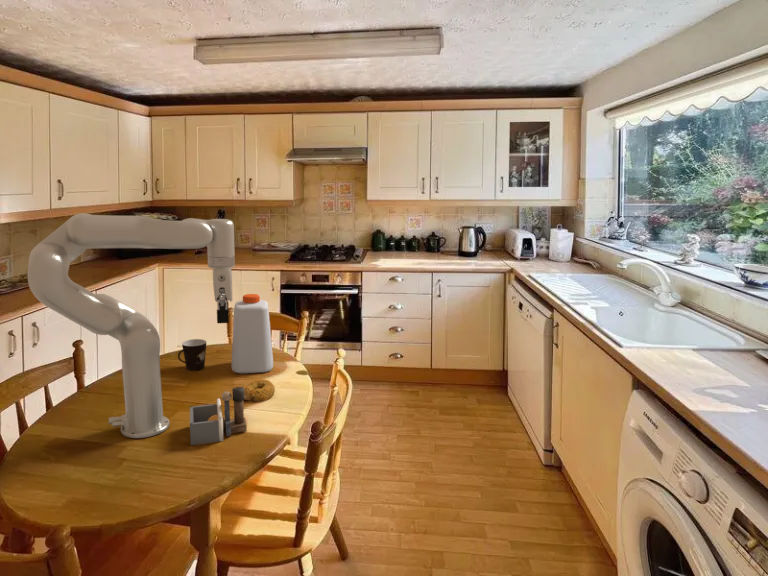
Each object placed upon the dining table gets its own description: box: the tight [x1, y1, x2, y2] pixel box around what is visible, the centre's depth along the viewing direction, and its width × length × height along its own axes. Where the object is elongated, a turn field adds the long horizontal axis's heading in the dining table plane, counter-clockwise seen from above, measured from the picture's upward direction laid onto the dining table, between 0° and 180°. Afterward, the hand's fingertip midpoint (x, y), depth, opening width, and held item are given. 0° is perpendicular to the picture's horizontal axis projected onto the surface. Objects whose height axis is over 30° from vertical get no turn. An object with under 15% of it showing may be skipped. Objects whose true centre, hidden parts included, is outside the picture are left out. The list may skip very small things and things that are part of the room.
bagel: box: [244, 379, 276, 402], centre depth 172 cm, size 10×11×5 cm
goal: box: [189, 397, 224, 446], centre depth 146 cm, size 8×12×8 cm
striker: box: [221, 386, 248, 437], centre depth 148 cm, size 6×8×12 cm
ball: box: [208, 415, 225, 430], centre depth 147 cm, size 5×5×5 cm
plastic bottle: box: [231, 293, 274, 374], centre depth 196 cm, size 15×15×28 cm
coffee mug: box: [177, 338, 207, 372], centre depth 194 cm, size 12×9×10 cm
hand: (223, 318), depth 155 cm, fingers open, 9 cm apart
